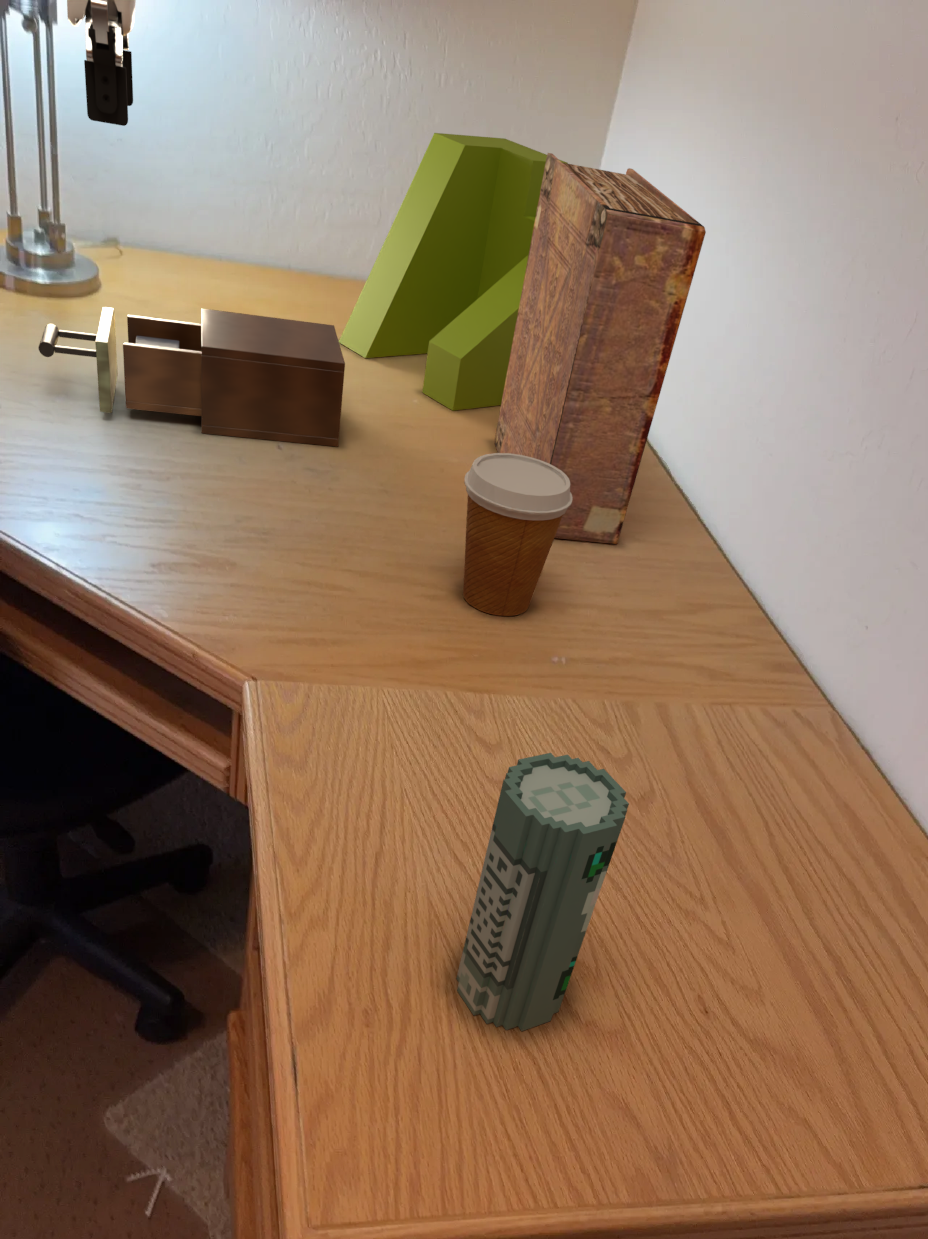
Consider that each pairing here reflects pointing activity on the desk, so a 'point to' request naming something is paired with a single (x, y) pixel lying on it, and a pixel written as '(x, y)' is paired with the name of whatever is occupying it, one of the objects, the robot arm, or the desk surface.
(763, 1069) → the desk surface
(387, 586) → the desk surface
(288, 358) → the cabinet
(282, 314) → the desk surface
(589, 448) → the book
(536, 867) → the can
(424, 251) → the book holder
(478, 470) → the disposable coffee cup
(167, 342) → the block
